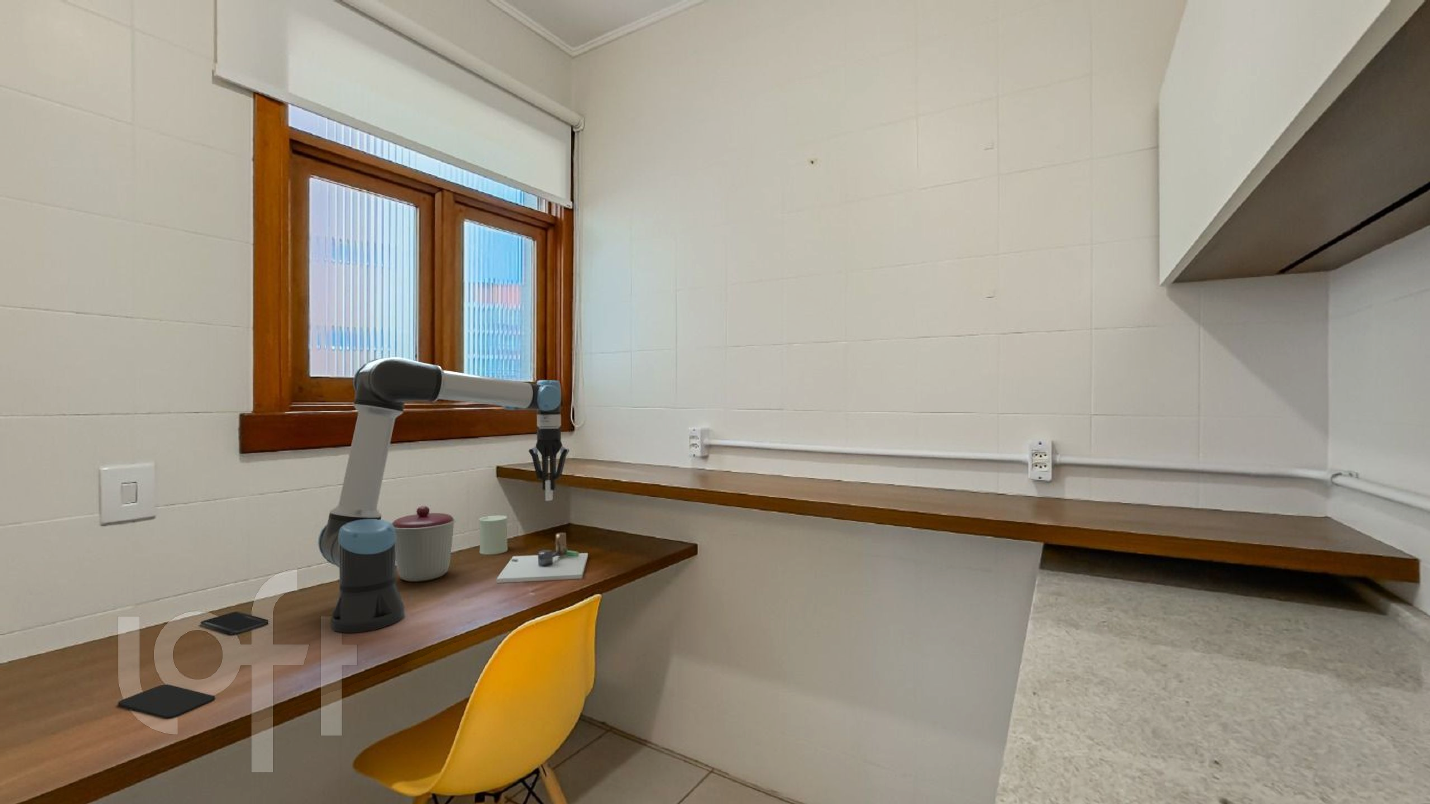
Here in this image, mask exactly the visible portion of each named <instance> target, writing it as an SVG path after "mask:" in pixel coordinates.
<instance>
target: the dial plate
mask: <svg viewBox="0 0 1430 804" xmlns="http://www.w3.org/2000/svg"><path fill="white" fill-rule="evenodd" d="M588 556H589V553H587V552H584V553H583V552H581V553H580V552H579V551H576V550H568V551H566V555H564V556H555V557H553V564H552V565H549V566H539V565H538V554H537V555H536V554H535V555H514V556H512V557H511V558H510V560H509V562H508V563H507V564H506V565H505V567H504V568H503V569H502V571H501V572H500V574H499V575H498V576H497V578H496V584H503V583H523V582H541V581H558V580H560V581H561V580H577V579H578V580H579V579H580V580H582V578H583V576H584V572H585V568H586V565H587V560H588Z"/></svg>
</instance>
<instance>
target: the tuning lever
mask: <svg viewBox="0 0 1430 804" xmlns="http://www.w3.org/2000/svg"><path fill="white" fill-rule="evenodd" d="M566 551H569V548H568V547H567V534H566V532H557V533H555V551H553V550H551V549H542V550H540V551H538V552H537V555H538V565H539V566H549V565H552V564H553V557H555V556H564V555H566Z"/></svg>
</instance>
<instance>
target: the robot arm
mask: <svg viewBox="0 0 1430 804" xmlns="http://www.w3.org/2000/svg"><path fill="white" fill-rule="evenodd" d="M352 385H353V389H354V391H355V395H354V400H353V407H354V408H355V410H356V412H357V419H356V422H355V427H354V432H353V438H352V441H351V445H350V449H349V454H348V459H347V464H346V468H345V473H344V478H343V483H342V487H341V491H340V495H339V500H338V501H339V502H338V504H337V505H336V507H334V508H333V509H331V510H330V511H329V515H328V519H327V523H326V524H325V525H324V527H323V528H322V530H320V533H319V536H318V541H317V542H318V543H317V545H318V549H319V552H320V553H321V555H322V557H323V558H324V559H325V560H326V561H327V562H328V563H330V564H331V565H334V566H336V567H338V568H339V573H338V574H339V594H338V597H337V600H336V604H335V606H334V609H333V612H332V615H331V620H330V621H331V624H330V625H331V630H333V631H335V632H338V633H348V634H349V633H350V634H351V633H353V634H354V633H362V632H368V631H373V630H378V629H382V628H385V627H388V626H391V625H393V624H395V623H398V622H399V621H401V620H402V619H403V618H404V617H405V604H404V602H403V598H402V597H401V594H400V592H399V589H398V587H397V586H398V585H397V579H396V575H397V574H396V573H397V572H396V569H397V565H396V559H395V541H396V535H395V529H394V526H393V525H392V524H391V523H392V522H390V521H388V520H384V519H382V517H383V516H382V515H383V514H382V513H381V512H380V511H379V510H378V503H379V498H380V494H381V488H382V484H383V478H384V475H385V474H384V473H385V468H386V464H387V459H388V455H389V450H390V445H391V441H392V434H393V432H394V431H393V430H394V426H395V422H396V419H397V417H399V416H401V415H402V414H403V413H404V409H405V404H406V403H407V402H430V403H435V402H437V400H447V401H455V402H456V401H457V402H463V403H472V404H482V405H491V406H501V407H502V408H503V410H507V411H536V420H537V421H536V426H537V427H538V428H537V429H536V443H535V446H534V447H532V448H529V450H528V452H529V454H530V455H531V459H532V463H533V466H534V470H535V475H536V478H537V479H539V480H541V481H542V490H543V491H544V493H545V494H544V495H545V502H547V501H548V502H551V501H552V500H554V499H553V496H554V490H556V485H557V483H556V480H557V479H560V478H562V475H563V471H564V467H565V464H566V463H565V462H566V458H567V455H568V454H569V452H570V449H569V448H566V447H564V446H563V443H562V430H561V426H562V416H561V413H562V410H561V409H562V389H561V388H562V387H561V383H560V381H559V380H554V379H553V380H548V379H546V380H545V379H540V380H537V381H536V383H530V382H524V381H518V380H511V379H504V378H497V377H490V376H484V375H478V374H469V373H463V372H455V371H452V370H451V371H450V370H443V368H442V367H441V366H439V365H436V364H430V363H426V362H425V363H424V362H420V361H416V360H413V359H409V358H403V357H397V356H396V357H395V356H394V357H393V356H392V357H387V358H386V357H385V358H375V359H372V360H368V362H366V363H364V364H362V365H361V366H360V367H359V368H358V369H357V370H356V372H355V374H354V377H353V384H352ZM538 452H539V453H540V455H541V461H540V457H539V454H538ZM559 453H560V456H559V460H558V464H557V455H558V454H559Z"/></svg>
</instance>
